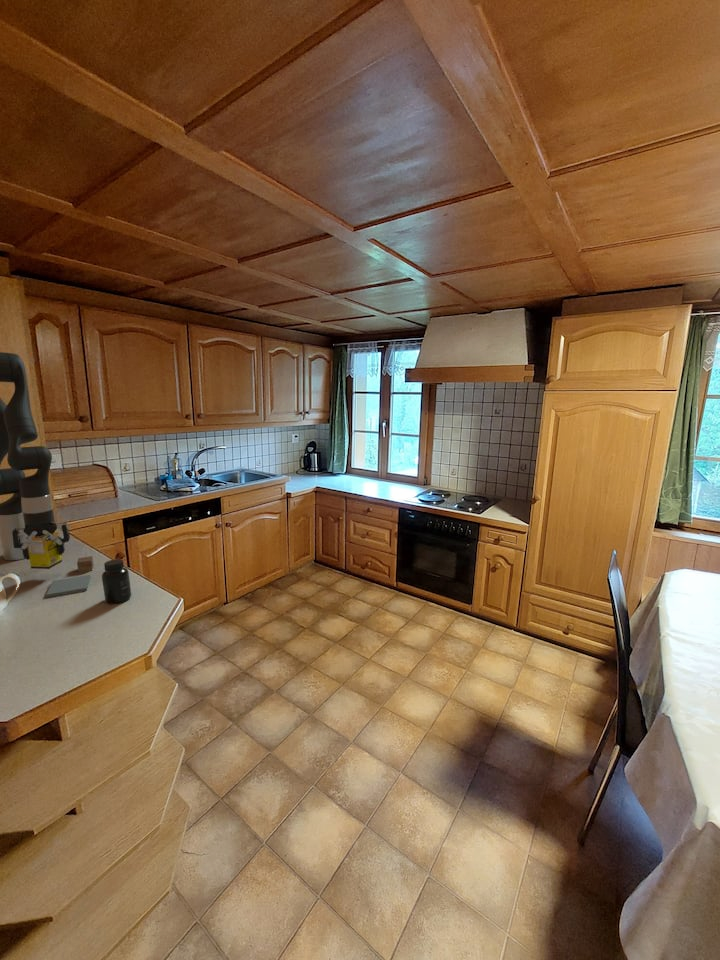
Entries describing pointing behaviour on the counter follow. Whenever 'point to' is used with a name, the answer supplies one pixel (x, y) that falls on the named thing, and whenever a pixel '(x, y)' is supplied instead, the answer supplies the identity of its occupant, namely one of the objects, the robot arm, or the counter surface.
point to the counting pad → (68, 586)
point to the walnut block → (85, 564)
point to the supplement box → (43, 552)
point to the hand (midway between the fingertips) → (45, 556)
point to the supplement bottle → (116, 582)
